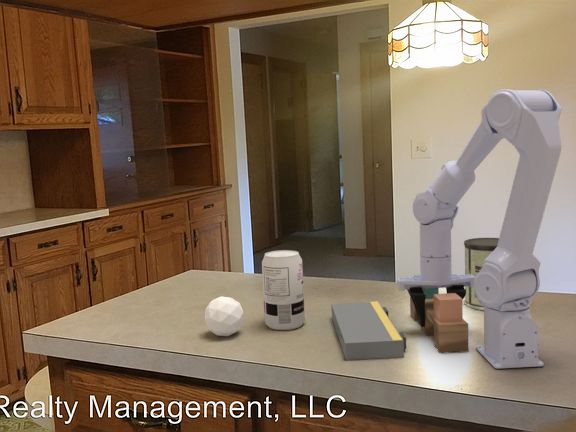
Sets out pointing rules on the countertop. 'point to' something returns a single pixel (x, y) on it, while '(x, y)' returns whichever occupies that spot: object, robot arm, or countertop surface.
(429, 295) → the teal crate
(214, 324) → the ball
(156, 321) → the countertop surface
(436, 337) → the brown long bar
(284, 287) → the supplement can
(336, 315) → the dock
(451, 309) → the terracotta brick
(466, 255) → the coffee can
